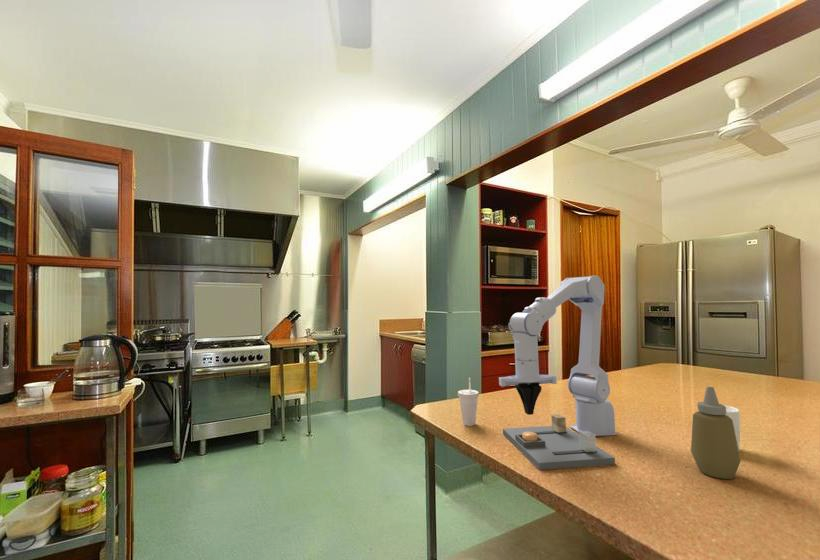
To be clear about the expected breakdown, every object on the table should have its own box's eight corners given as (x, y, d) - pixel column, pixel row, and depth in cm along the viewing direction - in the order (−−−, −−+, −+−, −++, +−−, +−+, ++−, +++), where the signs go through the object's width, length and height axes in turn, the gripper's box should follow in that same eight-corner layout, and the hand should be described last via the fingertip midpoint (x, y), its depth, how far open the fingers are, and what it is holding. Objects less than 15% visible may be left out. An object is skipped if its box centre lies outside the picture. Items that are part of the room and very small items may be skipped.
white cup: (727, 457, 84) (724, 413, 84) (692, 444, 91) (690, 404, 92) (751, 453, 86) (747, 410, 86) (715, 441, 93) (712, 401, 94)
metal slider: (588, 446, 87) (587, 430, 87) (596, 451, 84) (595, 434, 84) (579, 447, 86) (578, 431, 87) (586, 452, 83) (585, 435, 84)
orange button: (533, 439, 93) (533, 431, 93) (540, 444, 89) (539, 436, 89) (520, 440, 92) (519, 432, 92) (526, 445, 89) (525, 437, 89)
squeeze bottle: (692, 461, 82) (687, 381, 83) (740, 471, 77) (734, 386, 78) (691, 475, 76) (685, 388, 77) (743, 487, 71) (736, 393, 72)
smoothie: (479, 428, 107) (478, 380, 107) (457, 426, 108) (456, 379, 109) (479, 421, 113) (478, 375, 114) (459, 420, 114) (458, 375, 115)
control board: (563, 430, 103) (563, 420, 103) (615, 464, 81) (614, 451, 81) (502, 434, 101) (502, 424, 101) (539, 470, 79) (538, 457, 79)
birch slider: (560, 428, 99) (559, 414, 100) (566, 431, 96) (565, 417, 97) (552, 428, 99) (551, 414, 99) (557, 432, 96) (556, 417, 96)
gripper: (546, 355, 97) (548, 407, 96) (494, 358, 95) (496, 410, 94) (559, 360, 90) (562, 415, 89) (503, 362, 88) (506, 418, 87)
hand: (529, 413), depth 91 cm, fingers closed
